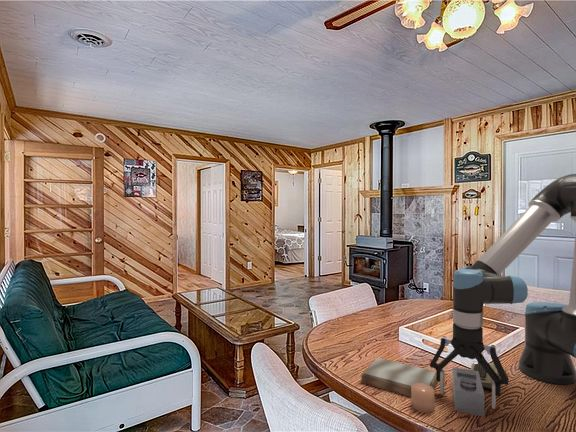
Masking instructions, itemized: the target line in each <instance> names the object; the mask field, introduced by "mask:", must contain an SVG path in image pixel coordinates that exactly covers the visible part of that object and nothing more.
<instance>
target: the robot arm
mask: <svg viewBox="0 0 576 432" xmlns="http://www.w3.org/2000/svg"><path fill="white" fill-rule="evenodd" d="M567 214H570V218H571V220H572V221H574V222H575V223H576V173H571V174H567V175H564V176H561V177H559V178H557V179H555V180H553V181H552V182H550V183H549V184H547V185H546V186H544V188H543V189H541V190H540V191H539V192H538V193H537V194H536V195H535V196H533V198H532V199H531V200H530V201H529V202H528V208H527V209H525V211H523V213H522V214H521V215H520V216H518V218H517V219H516V220H515V221H514V223H512V224H511V225H510V226H509V228H507V230H505V232H504V233H502V235H501V236H500V237H498V239H497V240H496V241H495V242H494V243H492V245H491V246H490V247H489V248H488V249H487V250H486V251H485V252H484V253H483V254H482V255H481V256H480V257H479V258H478V259H477V260H476V261H475V262H474V263H473V264H472V265H466V266H463V267H461V268H459V269H456V270H455V271H454V272H453V278H452V322H453V323H452V338H448V337H447V336H445V335H443V336H442V337H441V339H440V344H439V347H438V349H437V351H436V353H435V355H434V356H433V358H432V360H431V361H430V364H429V367H430V368H432V369H435V370H436V379H437V381H438V382H439V393H440V395H442V396H443V395H444V393H445V390H446V389H445V381H446V379H445V374H446V373H445V370H446V369H445V367H446V366H448V365H449V363H451V361H452V360H454V359H456V357H457V356H460V357H461V358H467V359H470V360H476V362H479V363H480V364H481V365H482V367H483V368H484V369H485V371H486V372H487V373H488V375H489V376H490V377H491V379H492V380H493V381H492V392H491V408H492V409H494V410H496V404H497V403H496V402H497V401H496V398H497V397H500V396H501V389H502V388H501V387H502V385H505V386H507V385H508V384H509V377H508V375H507V373H506V370H505V369H504V367H503V365H502V362H501V361H500V358H499V357H498V354H497V349H496V346H495V345H494V344H491V345H485V344H484V341H483V340H484V339H483V338H484V337H483V333H484V332H483V329H484V328H483V325H484V320H483V319H484V316H483V315H484V313H483V312H484V305H494V304H495V305H498V304H499V305H501V304H502V305H503V304H504V305H505V304H507V305H509V304H510V305H514V304H521V303H523V302H525V301H526V300H527V298H528V295H529V294H528V285H527V283H526V282H525V280H524V279H523V278H522V277H520V276H513V275H506V276H505V275H504V276H503V275H501V274H502V273H504V272H505V270H506V269H507V268H508V267H509V266H511V264H512V263H513V262H514V261H515V260H516V259H517V258H518V257H519V256H520V255H521V253H523V252H524V251H525V250H526V249H527V248H528V247H529V246H530V245H531V244H532V243H533V241H535V240H536V239H537V237H539V236H540V235H541V233H542V232H544V231H545V230H546V228H547V227H549V225H550V224H551V223H553V222H555V223H556V222H559V220H560V219H561V218H563V217H564V216H565V215H567ZM574 237H575V238H574V247H573V255H572V256H573V257H572V269H571V277H570V289H569V290H570V291H569V302H568V304H564V303H559V302H551V301H550V302H548V301H533V302H529V303H527V304H526V305H525V312H524V315H525V316H524V317H525V318H524V319H525V320H524V322H525V324H524V326H525V327H524V329H525V331H524V333H525V337H524V338H525V339H524V340H525V342H524V343H525V344H524V345H525V346H524V348H523V350H522V352H521V355H520V357H519V359H518V369H519V370H520V371H521V372H522V373H523V374H524V375H527V376H529V377H531V378H533V379H536V380H538V381H542V382H545V383H551V384H555V385H571V384H574V383H576V368H575V365H574V362H573V360H572V357H573V358H575V359H576V234H575V236H574ZM449 345H451V346H452V348H453V350H452V351H451V352H449V354H448V355H447V356H446V357H444V358H443V359H442V360H441V361H440V362H439V363H438V360H439V359H440V356H441V355H442V353H443V351H444V349H445V347H448V346H449ZM484 351H485V352H487V354H488V355H490V358H491V360H492V362H493V363H494V365H495V367H496V369H497V371H498V373H499V376H498V375H497V374H496V373H495V371H494V370H493V369H492V367H491V366H490V365H489V363H490V362H488V361H487V360H486V358H485V356H484V354H482V353H483V352H484Z"/></svg>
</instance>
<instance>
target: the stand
mask: <svg viewBox="0 0 576 432" xmlns="http://www.w3.org/2000/svg"><path fill="white" fill-rule="evenodd" d="M360 382H361V384H365V385H369V386H372V387H375V388H379V389H383V390H385V391H389V392H393V393H396V394H400V395H404V396H407V397H410V398H411V385H412V384H415V383H424V384H427V385H430V386H431V387H433V389H434V390H435V388H436V386H437V384H438V382H439V381H437V379H436V371H435V370H431V369H427V368H423V367H418V366H414V365H410V364H406V363H401V362H398V361H393V360H389V359H385V358H380V357H376V358H375V359H374V360H373V361H372V363H370V365H369V366H368V367H367V368H366V369H365V370H364V371H363V373H362V374H361V381H360Z"/></svg>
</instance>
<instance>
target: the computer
mask: <svg viewBox="0 0 576 432" xmlns="http://www.w3.org/2000/svg"><path fill="white" fill-rule="evenodd" d="M477 362H478V361H477ZM488 363H489V365H490V366H491V367H492V369H493V370H494V371H495V373H496V374H497V375H498V376H499V377H500V375H499V373H498V371H497V369H496V367H495V365H494V363H492V362H488ZM470 370H474V371H478V372H479V376H480V379H481V383H482V387H483V391H484V392H485V391H486V392H490V393H492V381H493V380H492V379H491V377H490V376H489V375H488V373H487V372H486V371H485V369H484V368H483V367H482V365H481V364H480V363H479V362H478V364H474V363H473V364H472V363H471V367H470Z"/></svg>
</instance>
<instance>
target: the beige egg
mask: <svg viewBox="0 0 576 432" xmlns="http://www.w3.org/2000/svg"><path fill="white" fill-rule="evenodd" d="M410 401H411V402H410V404H411V407H412V408H413V409H414V410H415V411H418V412H420V413H424V414H428V413H432V412H434V411H435V389H433V387H431V386H430V385H427V384H424V383H415V384H412V385H411V397H410Z"/></svg>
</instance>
